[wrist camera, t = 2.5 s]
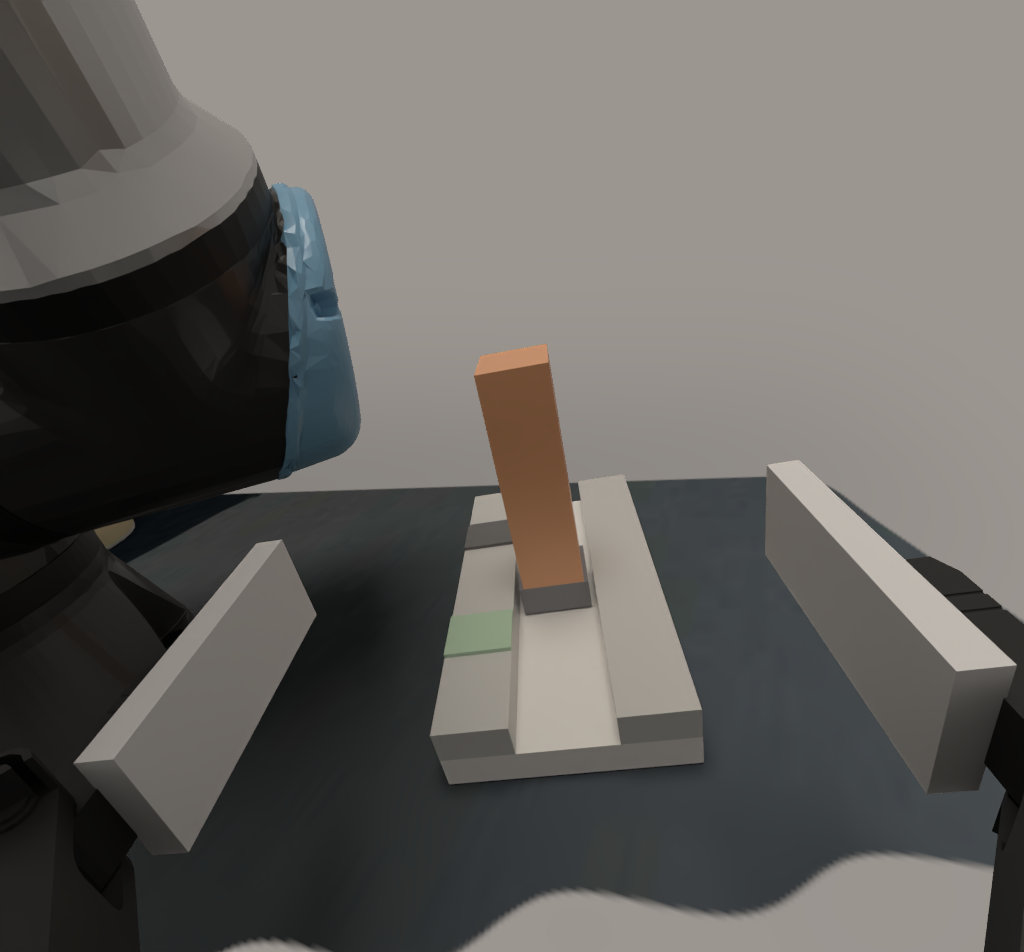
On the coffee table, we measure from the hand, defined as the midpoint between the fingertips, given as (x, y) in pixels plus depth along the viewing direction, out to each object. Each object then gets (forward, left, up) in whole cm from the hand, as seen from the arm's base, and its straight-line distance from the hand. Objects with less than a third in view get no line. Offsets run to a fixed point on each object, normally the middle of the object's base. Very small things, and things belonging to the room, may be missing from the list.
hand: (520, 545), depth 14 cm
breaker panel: (-3, +9, -12) cm, 15 cm away
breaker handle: (-3, +9, -10) cm, 14 cm away
